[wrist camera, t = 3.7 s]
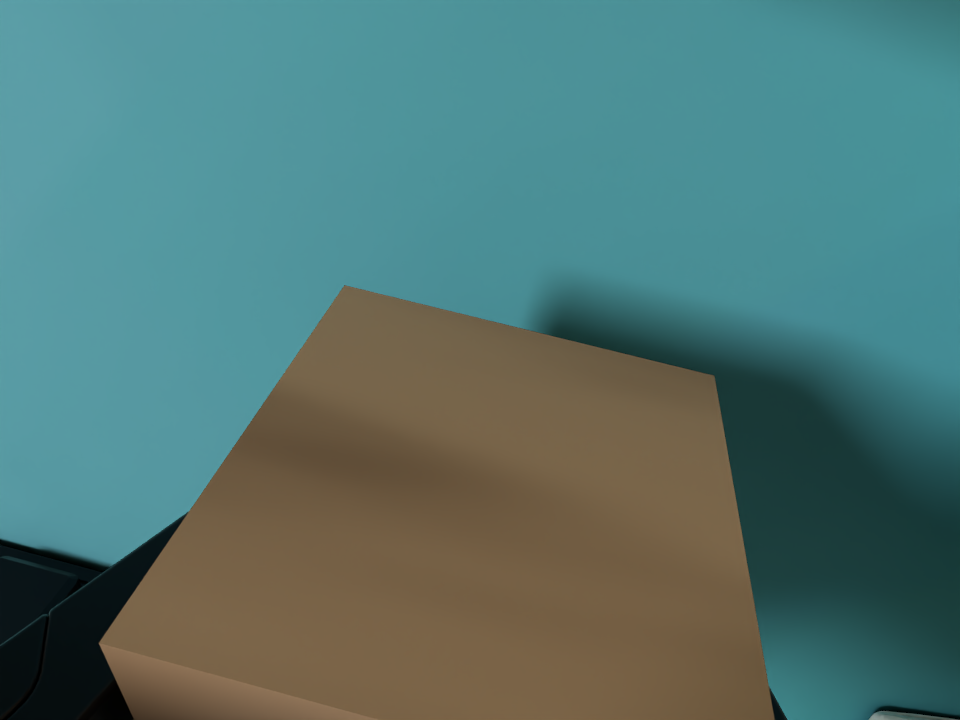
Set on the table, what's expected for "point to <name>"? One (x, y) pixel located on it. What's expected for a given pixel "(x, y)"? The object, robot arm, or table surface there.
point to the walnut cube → (455, 540)
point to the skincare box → (903, 716)
